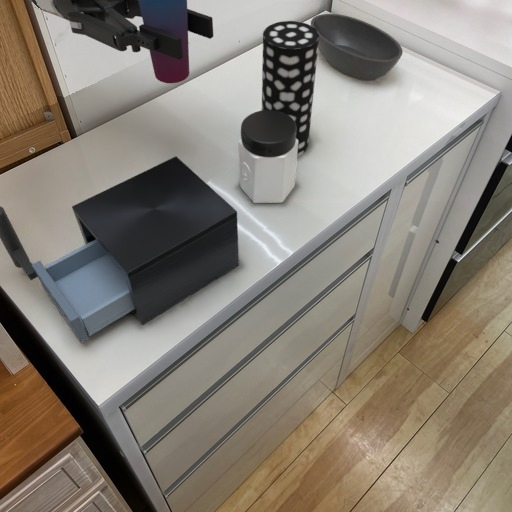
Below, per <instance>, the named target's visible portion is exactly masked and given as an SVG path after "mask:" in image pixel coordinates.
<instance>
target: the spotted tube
mask: <svg viewBox="0 0 512 512" xmlns="http://www.w3.org/2000/svg"><path fill="white" fill-rule="evenodd" d="M318 43H319V33H318V31H317V30H316V29H315V28H314V27H312V26H311V24H308V23H306V22H302V21H294V20H284V21H283V20H281V21H277V22H274V23H271V24H269V25H268V26H267V27H266V28H264V29H263V31H262V64H261V65H262V69H261V70H262V71H261V73H262V74H261V111H263V110H274V111H279V112H282V113H285V114H287V115H289V116H290V117H291V118H292V119H293V120H294V121H295V123H296V127H297V130H296V139H297V140H298V152H297V157H299V156H301V155H303V154H305V152H306V151H307V150H308V147H309V142H310V132H311V124H312V123H311V121H312V111H313V102H314V101H313V100H314V92H315V81H316V72H317V61H318V53H319V52H318V51H319V49H318Z"/></svg>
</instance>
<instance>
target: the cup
mask: <svg viewBox="0 0 512 512" xmlns="http://www.w3.org/2000/svg"><path fill="white" fill-rule="evenodd" d="M138 1H139V6H140V10H141V15H142V17H141V19H142V24H144V25H147V26H149V27H152V28H155V29H158V30H161V31H163V32H166V33H169V34H172V35H174V36H177V37H180V38H181V43H182V52H183V58H182V59H180V60H178V59H176V58H173V57H170V56H168V55H165V54H163V53H160V52H157V51H152V50H148V51H149V55H150V59H151V63H152V64H151V65H152V69H153V74H154V77H155V79H156V80H157V81H158V82H161V83H165V84H179V83H181V82H184V81H185V80H187V78H189V75H190V56H189V55H190V53H189V52H190V51H189V50H190V49H189V31H188V16H187V9H188V0H138Z"/></svg>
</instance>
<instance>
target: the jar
mask: <svg viewBox="0 0 512 512" xmlns="http://www.w3.org/2000/svg"><path fill="white" fill-rule="evenodd" d="M296 130H297V127H296V123H295V121H294V120H293V119H292V118H291V117H290V116H289V115H287V114H285V113H282V112H279V111H274V110H263V111H262V110H258V111H254V112H252V113H250V114H249V115H247V116H246V117H245V118H244V119H243V121H242V122H241V126H240V139H239V140H238V167H239V187H240V189H241V190H242V191H243V192H244V193H245V195H246V196H247V197H248V198H249V199H250V200H251V201H252V202H253V203H254V204H282V203H284V201H286V199H287V197H288V196H289V195H290V193H291V192H292V190H293V189H294V188H295V187H296V176H297V164H298V156H297V152H298V140H297V139H296Z"/></svg>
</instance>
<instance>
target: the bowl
mask: <svg viewBox="0 0 512 512" xmlns="http://www.w3.org/2000/svg"><path fill="white" fill-rule="evenodd" d="M310 25H311V26H312V27H314V28H315V29H316V30H317V31H318V33H319V43H318V51H319V52H320V54H321V55H322V57H323V58H324V60H325V61H326V62H327V64H328V65H329V66H331V67H332V68H334V69H335V70H336V71H338V72H340V73H342V74H343V75H346V76H347V77H350V78H352V79H355V80H360V81H364V82H372V81H376V80H379V79H381V78H382V77H384V76H385V75H387V74H388V73H389V72H390V71H391V70H392V69H394V67H395V66H396V65H397V64H398V62H399V61H400V59H401V57H402V56H403V53H404V52H403V48H402V45H401V44H400V43H399V42H398V41H397V40H396V39H395V38H394V37H393V36H392V35H390V34H388V33H387V32H386V31H384V30H382V29H381V28H379V27H377V26H375V25H373V24H371V23H369V22H366V21H364V20H361V19H359V18H355V17H353V16H348V15H344V14H338V13H323V14H318V15H316V16H314V17H312V19H311V20H310Z"/></svg>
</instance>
